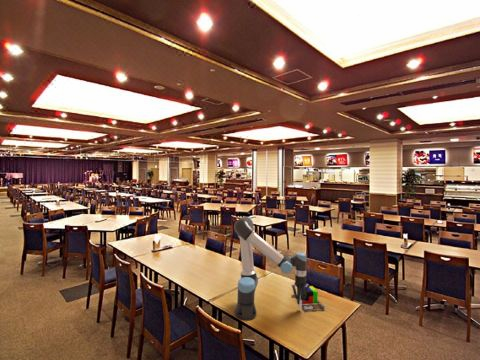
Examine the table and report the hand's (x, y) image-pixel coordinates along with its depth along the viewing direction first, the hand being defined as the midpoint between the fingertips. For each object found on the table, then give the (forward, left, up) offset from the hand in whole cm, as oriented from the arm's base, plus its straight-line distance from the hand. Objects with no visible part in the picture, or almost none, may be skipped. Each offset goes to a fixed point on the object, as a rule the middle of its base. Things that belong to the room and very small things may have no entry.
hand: (299, 308), depth 181 cm
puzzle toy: (+13, +13, -3) cm, 18 cm away
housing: (+10, +9, -2) cm, 14 cm away
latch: (+6, 0, -2) cm, 7 cm away
